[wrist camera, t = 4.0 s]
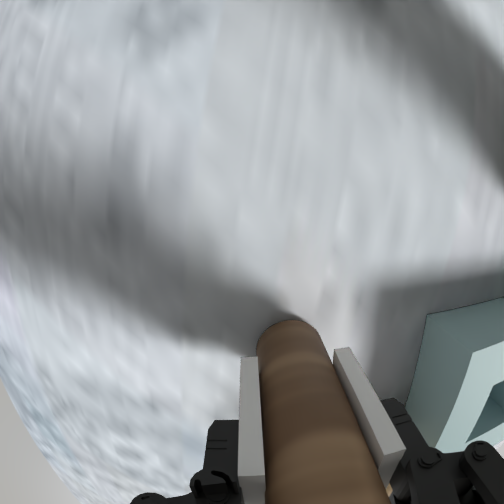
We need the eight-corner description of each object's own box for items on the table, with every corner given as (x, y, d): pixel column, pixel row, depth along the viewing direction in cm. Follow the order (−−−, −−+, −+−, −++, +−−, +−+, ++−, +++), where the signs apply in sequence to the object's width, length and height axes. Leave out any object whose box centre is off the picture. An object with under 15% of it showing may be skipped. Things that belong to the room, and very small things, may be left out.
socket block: (427, 314, 16) (472, 352, 11) (528, 290, 16) (567, 310, 11) (393, 441, 18) (414, 483, 14) (491, 402, 19) (517, 430, 14)
